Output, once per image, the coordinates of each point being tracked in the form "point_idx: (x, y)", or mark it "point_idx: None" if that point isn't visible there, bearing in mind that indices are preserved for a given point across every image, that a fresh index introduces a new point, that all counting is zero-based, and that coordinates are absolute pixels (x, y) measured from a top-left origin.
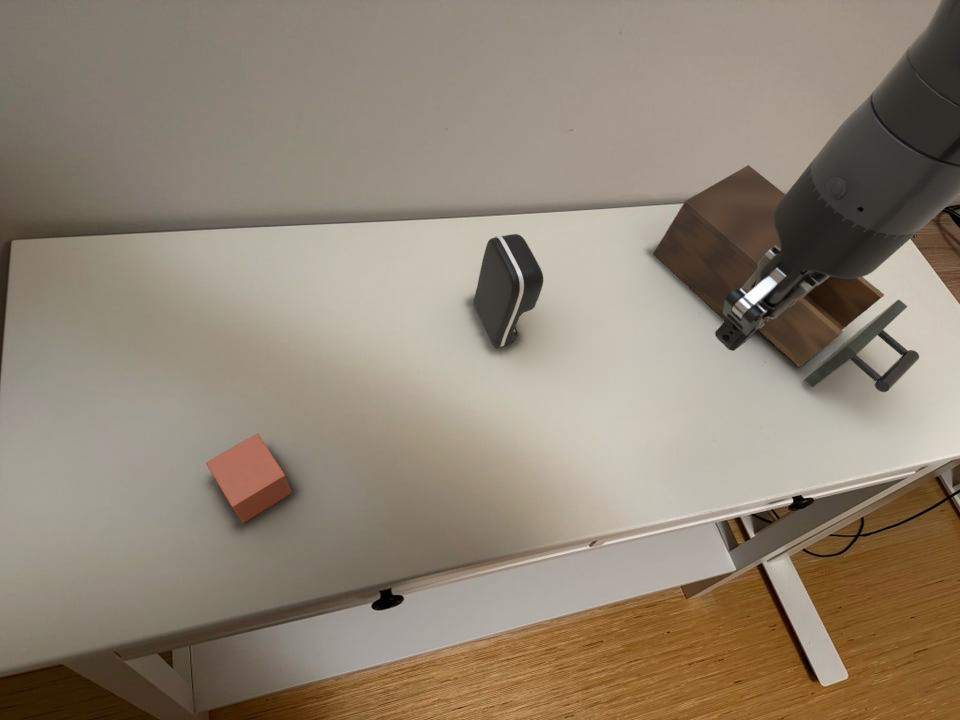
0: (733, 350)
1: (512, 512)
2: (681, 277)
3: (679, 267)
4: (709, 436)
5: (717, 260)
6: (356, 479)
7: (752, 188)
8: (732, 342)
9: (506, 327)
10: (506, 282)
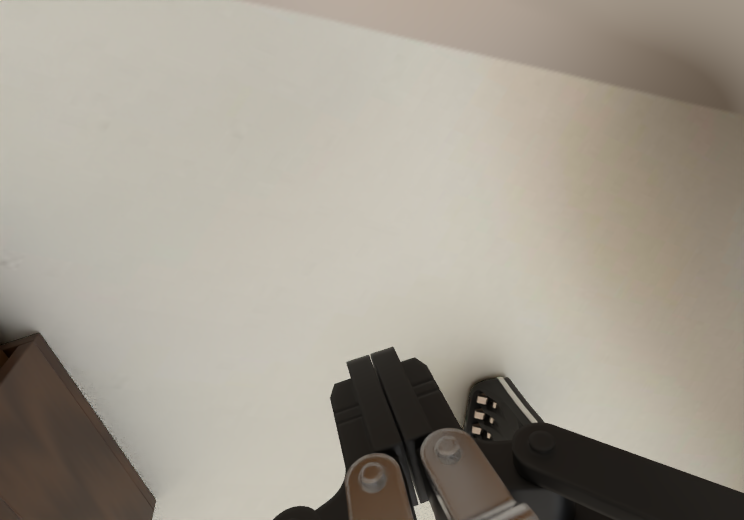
0: (392, 347)
1: (626, 143)
2: (122, 457)
3: (125, 479)
4: (243, 147)
5: (74, 511)
6: (740, 247)
7: None
8: (431, 377)
9: (527, 410)
10: None
